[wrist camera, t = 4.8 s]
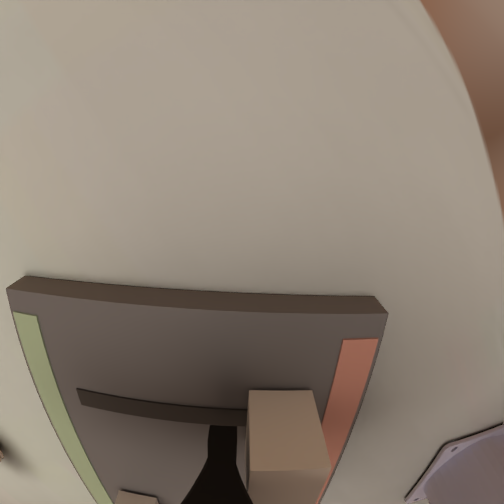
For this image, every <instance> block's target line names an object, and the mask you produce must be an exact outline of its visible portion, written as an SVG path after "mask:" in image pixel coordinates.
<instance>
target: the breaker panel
mask: <svg viewBox="0 0 504 504" xmlns="http://www.w3.org/2000/svg"><path fill="white" fill-rule="evenodd" d="M6 291H7V296H8V300H9V304H10V309H11V313H12V316H13V320H14V324H15V328H16V331H17V335H18V338H19V341H20V344H21V348H22V351H23V354H24V357H25V360H26V363H27V366H28V368H29V371H30V374H31V377H32V379H33V382H34V385H35V387H36V390H37V392H38V395H39V397H40V399H41V402H42V404H43V406H44V409H45V411H46V413H47V415H48V418H49V420H50V422H51V424H52V426H53V428H54V430H55V432H56V434H57V436H58V438H59V440H60V442H61V444H62V446H63V448H64V450H65V452H66V454H67V456H68V457H69V459H70V461H71V463H72V464H73V466H74V468H75V470H76V471H77V473H78V475H79V476H80V478H81V480H82V481H83V483H84V485H85V486H86V488H87V489H88V491H89V492H90V494H91V495H92V497H93V499H94V500H95V501H96V503H97V504H115V501H116V498H117V495H118V492H119V490H120V491H124V492H129V493H133V494H138V495H143V496H149V497H154V498H157V501H158V503H159V504H181V502H182V501H183V500H184V498H185V497H186V495H187V494H188V492H189V491H190V489H191V488H192V486H193V484H194V483H195V481H196V479H197V477H198V476H199V474H200V472H201V470H202V468H203V466H204V464H205V462H206V460H207V458H208V447H207V440H208V433H209V427H210V425H220V426H237V459H236V465H237V468H238V470H239V473H240V476H241V479H242V481H243V483H244V486H245V440H246V425H247V411H248V396H249V390H268V391H294V390H312V392H313V396H314V399H315V403H316V407H317V411H318V415H319V419H320V423H321V427H322V431H323V435H324V439H325V443H326V447H327V451H328V455H329V459H330V463H331V467H332V468H331V470H330V472H329V475H328V477H327V479H326V481H325V484H324V486H323V488H322V490H321V492H320V495H319V497H318V499H317V501H316V503H315V504H320V502H321V500H322V498H323V496H324V494H325V492H326V490H327V488H328V486H329V484H330V481H331V479H332V477H333V475H334V473H335V470H336V468H337V466H338V464H339V461H340V459H341V457H342V454H343V452H344V449H345V447H346V445H347V442H348V440H349V437H350V434H351V432H352V429H353V427H354V424H355V421H356V419H357V416H358V413H359V410H360V408H361V405H362V402H363V399H364V396H365V393H366V390H367V387H368V384H369V381H370V378H371V375H372V372H373V368H374V365H375V362H376V358H377V355H378V351H379V348H380V344H381V341H382V337H383V333H384V329H385V325H386V321H387V317H388V312H387V311H386V310H385V309H384V307H383V306H382V305H381V304H380V303H379V301H378V300H377V299H376V298H375V297H374V296H311V295H277V294H251V293H230V292H210V291H193V290H177V289H162V288H148V287H135V286H122V285H110V284H99V283H88V282H78V281H68V280H58V279H49V278H40V277H31V276H24V277H22V278H21V279H19V280H18V281H16V282H15V283H13V284H12V285H10V286H9V287H7V288H6Z"/></svg>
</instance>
